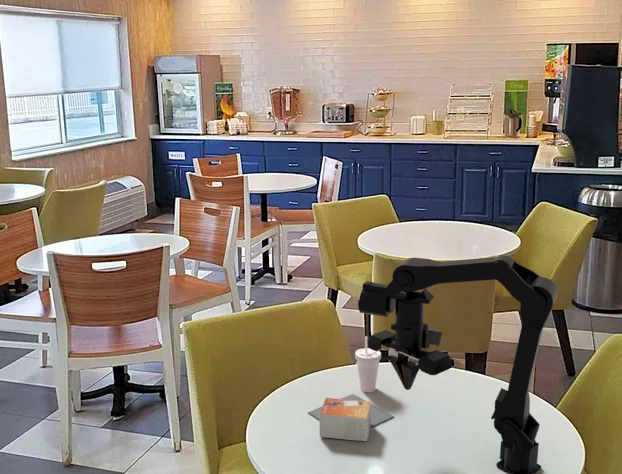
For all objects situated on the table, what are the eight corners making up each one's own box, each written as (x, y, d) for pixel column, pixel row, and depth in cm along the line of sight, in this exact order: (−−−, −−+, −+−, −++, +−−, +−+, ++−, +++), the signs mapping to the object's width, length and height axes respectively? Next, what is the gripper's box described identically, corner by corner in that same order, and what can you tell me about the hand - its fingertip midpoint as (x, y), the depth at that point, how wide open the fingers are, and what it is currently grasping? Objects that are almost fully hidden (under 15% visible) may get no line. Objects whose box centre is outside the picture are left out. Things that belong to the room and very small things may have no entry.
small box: (367, 418, 147) (319, 414, 149) (367, 442, 148) (319, 437, 150) (371, 400, 154) (325, 396, 156) (371, 423, 156) (325, 418, 158)
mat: (393, 417, 159) (393, 416, 159) (348, 438, 150) (348, 437, 150) (352, 394, 169) (352, 393, 169) (308, 413, 161) (308, 412, 161)
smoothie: (351, 385, 174) (351, 333, 171) (374, 381, 176) (375, 330, 173) (360, 396, 168) (360, 343, 165) (384, 392, 170) (385, 339, 167)
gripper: (470, 322, 140) (467, 392, 144) (402, 299, 154) (401, 363, 158) (434, 336, 133) (432, 410, 137) (366, 311, 147) (366, 378, 151)
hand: (407, 388), depth 146 cm, fingers closed
